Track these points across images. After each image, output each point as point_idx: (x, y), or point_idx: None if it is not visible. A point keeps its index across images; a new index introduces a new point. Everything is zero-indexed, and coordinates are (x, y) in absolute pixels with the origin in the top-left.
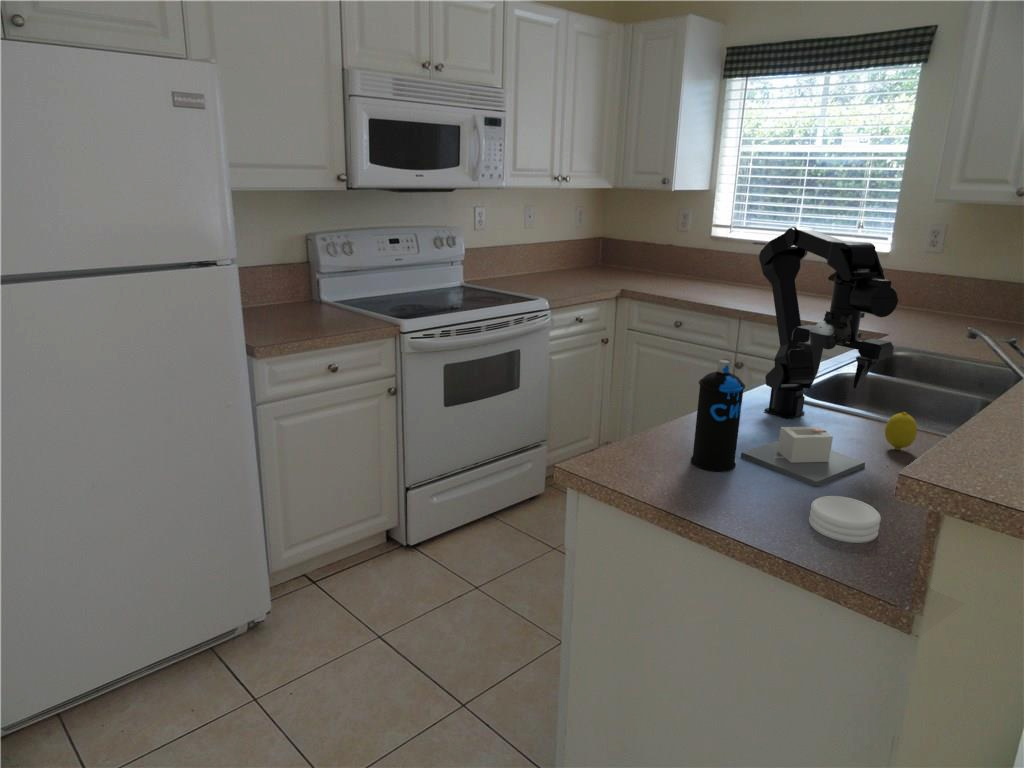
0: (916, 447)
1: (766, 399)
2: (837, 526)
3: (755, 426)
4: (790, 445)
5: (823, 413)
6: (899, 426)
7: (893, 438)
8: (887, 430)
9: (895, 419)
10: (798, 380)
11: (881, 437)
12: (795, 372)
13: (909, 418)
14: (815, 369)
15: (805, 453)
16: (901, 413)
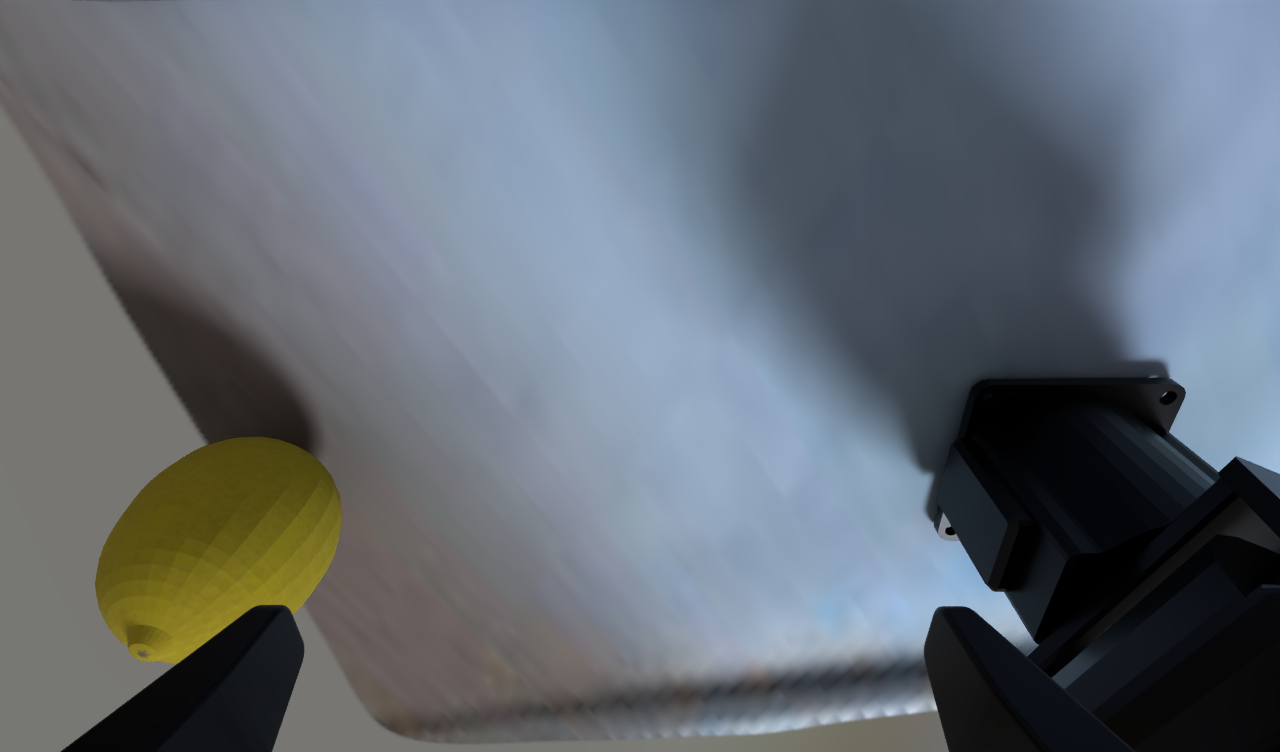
0: None
1: None
2: None
3: (1121, 27)
4: None
5: (861, 609)
6: (141, 516)
7: (221, 447)
8: (258, 481)
9: (173, 559)
10: (1127, 633)
11: (468, 544)
12: (1243, 680)
13: (103, 615)
14: (986, 739)
15: None
16: (156, 634)
